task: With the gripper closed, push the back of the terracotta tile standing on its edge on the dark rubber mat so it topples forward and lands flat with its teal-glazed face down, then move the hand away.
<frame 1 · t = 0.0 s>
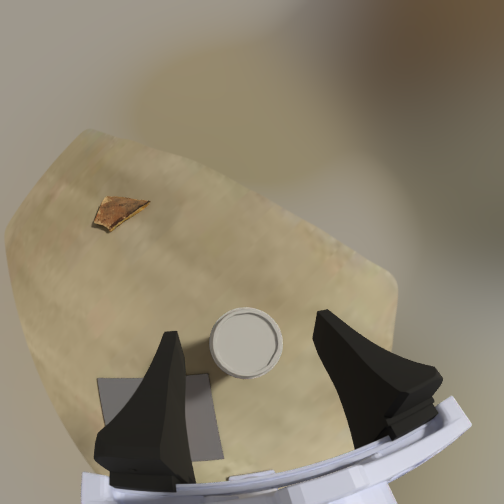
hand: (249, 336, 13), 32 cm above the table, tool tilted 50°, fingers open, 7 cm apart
disposable coffee cup: (240, 345, 44), on the table
pizza slice: (120, 209, 51), on the table
rubber mat: (157, 421, 37), on the table
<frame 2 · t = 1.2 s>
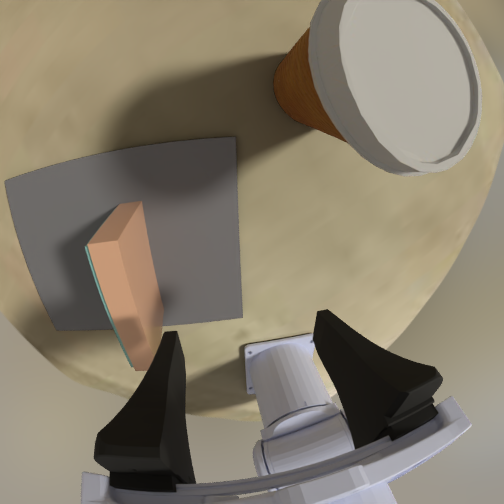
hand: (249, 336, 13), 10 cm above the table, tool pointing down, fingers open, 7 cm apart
disposable coffee cup: (312, 87, 17), on the table
rubber mat: (118, 251, 20), on the table
terracotta tile: (142, 261, 21), resting on rubber mat
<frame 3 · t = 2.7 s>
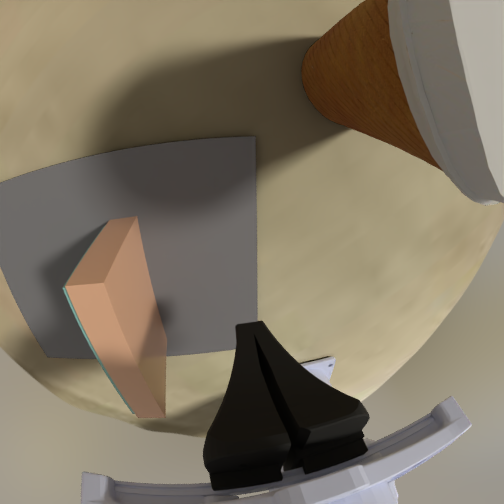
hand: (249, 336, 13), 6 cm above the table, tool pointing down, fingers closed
disposable coffee cup: (345, 79, 14), on the table
rubber mat: (110, 275, 17), on the table
terracotta tile: (139, 288, 17), resting on rubber mat
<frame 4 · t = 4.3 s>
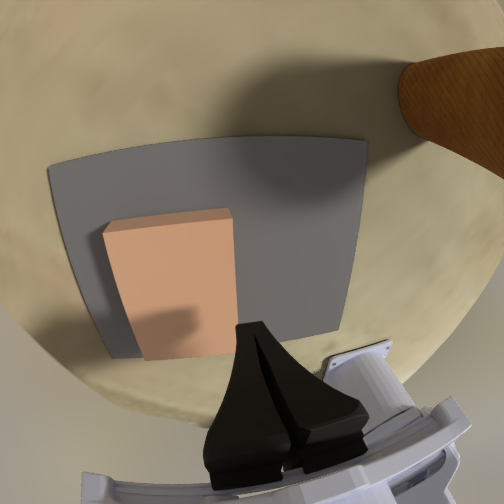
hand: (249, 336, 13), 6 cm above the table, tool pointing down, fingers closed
disposable coffee cup: (424, 100, 15), on the table
rubber mat: (216, 263, 18), on the table
terracotta tile: (234, 288, 17), point 2 cm above the table, tilted 90°, touching rubber mat
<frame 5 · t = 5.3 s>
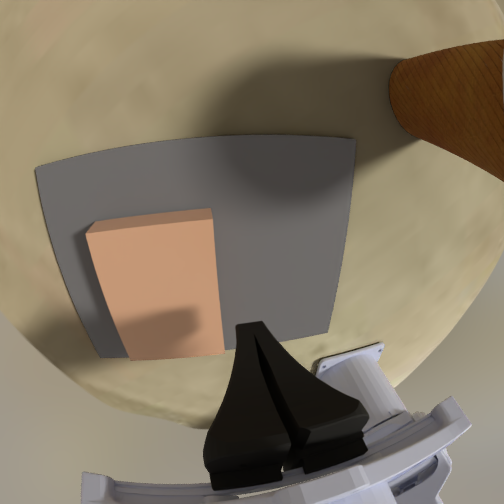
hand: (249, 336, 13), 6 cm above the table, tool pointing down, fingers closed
disposable coffee cup: (417, 97, 15), on the table
rubber mat: (201, 264, 17), on the table
terracotta tile: (217, 289, 17), point 2 cm above the table, tilted 90°, touching rubber mat
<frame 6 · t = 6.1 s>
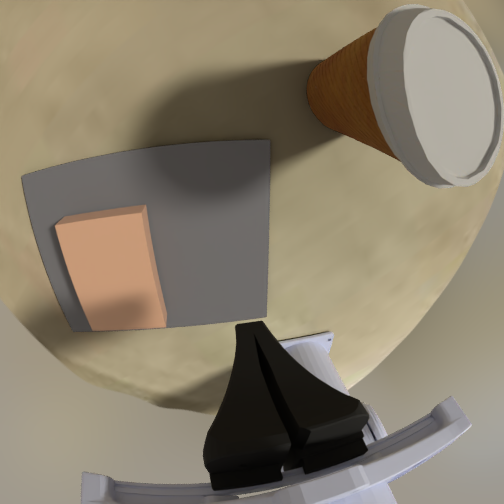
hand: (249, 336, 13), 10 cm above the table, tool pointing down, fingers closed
disposable coffee cup: (341, 94, 18), on the table
rubber mat: (144, 250, 21), on the table
terracotta tile: (155, 271, 20), point 2 cm above the table, tilted 90°, touching rubber mat
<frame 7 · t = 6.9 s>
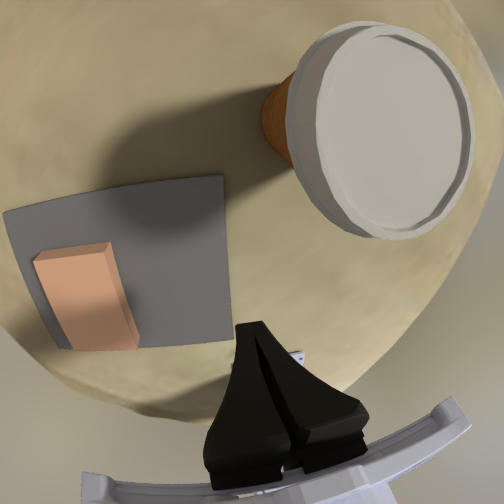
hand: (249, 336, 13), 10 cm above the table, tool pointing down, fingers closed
disposable coffee cup: (301, 120, 18), on the table
rubber mat: (114, 281, 21), on the table
terracotta tile: (123, 300, 20), point 2 cm above the table, tilted 90°, touching rubber mat
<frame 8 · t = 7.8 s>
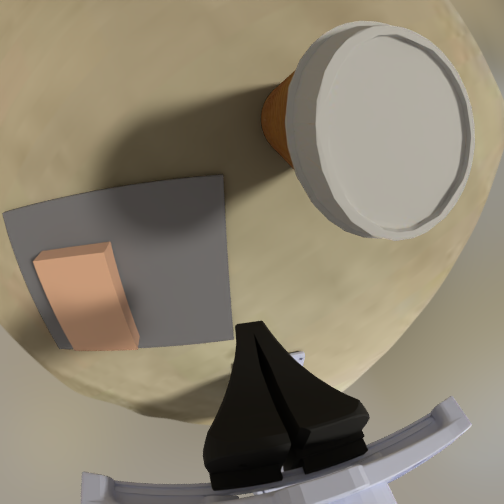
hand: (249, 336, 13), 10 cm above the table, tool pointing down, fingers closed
disposable coffee cup: (301, 120, 18), on the table
rubber mat: (114, 281, 21), on the table
terracotta tile: (123, 300, 20), point 2 cm above the table, tilted 90°, touching rubber mat
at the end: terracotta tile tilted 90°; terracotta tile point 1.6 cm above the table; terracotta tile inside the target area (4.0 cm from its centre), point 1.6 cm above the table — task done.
